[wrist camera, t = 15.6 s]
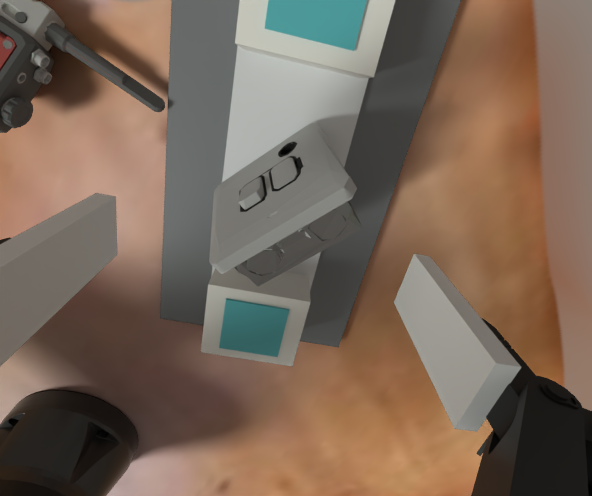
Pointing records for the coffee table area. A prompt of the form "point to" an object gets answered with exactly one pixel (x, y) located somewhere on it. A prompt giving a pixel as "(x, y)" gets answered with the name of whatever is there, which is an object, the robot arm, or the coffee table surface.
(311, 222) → the electrical switch
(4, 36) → the walkie-talkie
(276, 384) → the coffee table surface
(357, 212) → the rail board
